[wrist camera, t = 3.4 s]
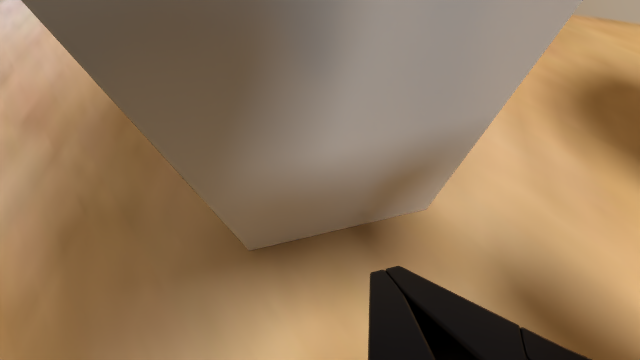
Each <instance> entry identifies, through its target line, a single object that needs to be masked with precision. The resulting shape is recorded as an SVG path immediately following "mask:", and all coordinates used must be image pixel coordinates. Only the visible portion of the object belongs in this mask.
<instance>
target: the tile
mask: <svg viewBox="0 0 640 360" xmlns="http://www.w3.org/2000/svg"><path fill="white" fill-rule="evenodd" d="M582 1H583V0H22V2H23V3H24V4H25V5H26V6H27V7H28V8H29V9H30V10H31V11H32V13H33V14H34V15H35V16H36V17H37V18H38V19H39V20H40V21H41V22H42V24H43V25H44V26H45V27H46V28H47V29H48V30H49V31H50V32H51V33H52V35H53V36H54V37H55V38H56V39H57V40H58V41H59V42H60V43H61V44H62V46H63V47H64V48H65V49H66V50H67V51H68V52H69V53H70V54H71V55H72V57H73V58H74V59H75V60H76V61H77V62H78V63H79V64H80V65H81V66H82V68H83V69H84V70H85V71H86V72H87V73H88V74H89V75H90V76H91V77H92V79H93V80H94V81H95V82H96V83H97V84H98V85H99V86H100V87H101V88H102V90H103V91H104V92H105V93H106V94H107V95H108V96H109V97H110V98H111V99H112V101H113V102H114V103H115V104H116V105H117V106H118V107H119V108H120V109H121V110H122V112H123V113H124V114H125V115H126V116H127V117H128V118H129V119H130V120H131V121H132V123H133V124H134V125H135V126H136V127H137V128H138V129H139V130H140V131H141V132H142V134H143V135H144V136H145V137H146V138H147V139H148V140H149V141H150V142H151V143H152V145H153V146H154V147H155V148H156V149H157V150H158V151H159V152H160V153H161V154H162V156H163V157H164V158H165V159H166V160H167V161H168V162H169V163H170V164H171V165H172V167H173V168H174V169H175V170H176V171H177V172H178V173H179V174H180V175H181V176H182V178H183V179H184V180H185V181H186V182H187V183H188V184H189V185H190V186H191V187H192V189H193V190H194V191H195V192H196V193H197V194H198V195H199V196H200V197H201V198H202V200H203V201H204V202H205V203H206V204H207V205H208V206H209V207H210V208H211V209H212V211H213V212H214V213H215V214H216V215H217V216H218V217H219V218H220V219H221V220H222V222H223V223H224V224H225V225H226V226H227V227H228V228H229V229H230V230H231V231H232V233H233V234H234V235H235V236H236V237H237V238H238V239H239V240H240V241H241V242H242V244H243V245H244V246H245V247H246V248H247V249H248V250H249V251H250V250H255V249H259V248H263V247H268V246H272V245H276V244H280V243H285V242H289V241H293V240H298V239H302V238H306V237H310V236H315V235H319V234H323V233H328V232H332V231H336V230H340V229H345V228H349V227H353V226H358V225H362V224H366V223H370V222H375V221H379V220H383V219H388V218H392V217H396V216H400V215H405V214H409V213H413V212H418V211H422V210H426V209H427V208H428V206H429V205H430V204H431V202H432V201H433V200H434V198H435V197H436V196H437V194H438V193H439V192H440V190H441V189H442V188H443V186H444V185H445V184H446V182H447V181H448V180H449V178H450V177H451V176H452V174H453V173H454V172H455V170H456V169H457V168H458V166H459V165H460V164H461V162H462V161H463V160H464V158H465V157H466V156H467V154H468V153H469V152H470V150H471V149H472V148H473V146H474V145H475V144H476V142H477V141H478V140H479V138H480V137H481V136H482V134H483V133H484V132H485V130H486V129H487V128H488V126H489V125H490V124H491V122H492V121H493V120H494V118H495V117H496V116H497V114H498V113H499V112H500V110H501V109H502V108H503V106H504V105H505V104H506V102H507V101H508V100H509V98H510V97H511V96H512V94H513V93H514V92H515V90H516V89H517V88H518V86H519V85H520V84H521V82H522V81H523V80H524V78H525V77H526V76H527V74H528V73H529V72H530V70H531V69H532V68H533V66H534V65H535V64H536V62H537V61H538V60H539V58H540V57H541V56H542V54H543V53H544V52H545V50H546V49H547V48H548V46H549V45H550V44H551V42H552V41H553V40H554V38H555V37H556V36H557V34H558V33H559V32H560V30H561V29H562V28H563V26H564V25H565V23H566V22H567V21H568V19H569V18H570V17H571V15H572V14H573V13H574V11H575V10H576V9H577V7H578V6H579V5H580V3H581V2H582Z"/></svg>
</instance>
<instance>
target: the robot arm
mask: <svg viewBox="0 0 640 360" xmlns="http://www.w3.org/2000/svg"><path fill="white" fill-rule="evenodd" d="M368 360H592V359H590V358H587V357H585V356H583V355H581V354H578V353H576V352H574V351H571V350H569V349H567V348H565V347H563V346H561V345H559V344H557V343H554V342H552V341H550V340H548V339H546V338H544V337H542V336H540V335H538V334H536V333H534V332H532V331H530V330H528V329H526V328H524V327H521V328H520V327H519V325H517V324H515V323H513V322H511V321H509V320H507V319H505V318H503V317H501V316H499V315H497V314H495V313H493V312H491V311H489V310H487V309H485V308H483V307H481V306H479V305H477V304H475V303H473V302H471V301H469V300H467V299H465V298H463V297H461V296H459V295H457V294H455V293H453V292H451V291H449V290H447V289H445V288H443V287H441V286H439V285H437V284H435V283H433V282H431V281H429V280H427V279H425V278H423V277H421V276H419V275H417V274H415V273H413V272H411V271H409V270H407V269H405V268H403V267H400V266H396V267H392V268H388V269H386V270H380V271H375V272H372V273H371V274H370V296H369V338H368Z"/></svg>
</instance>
